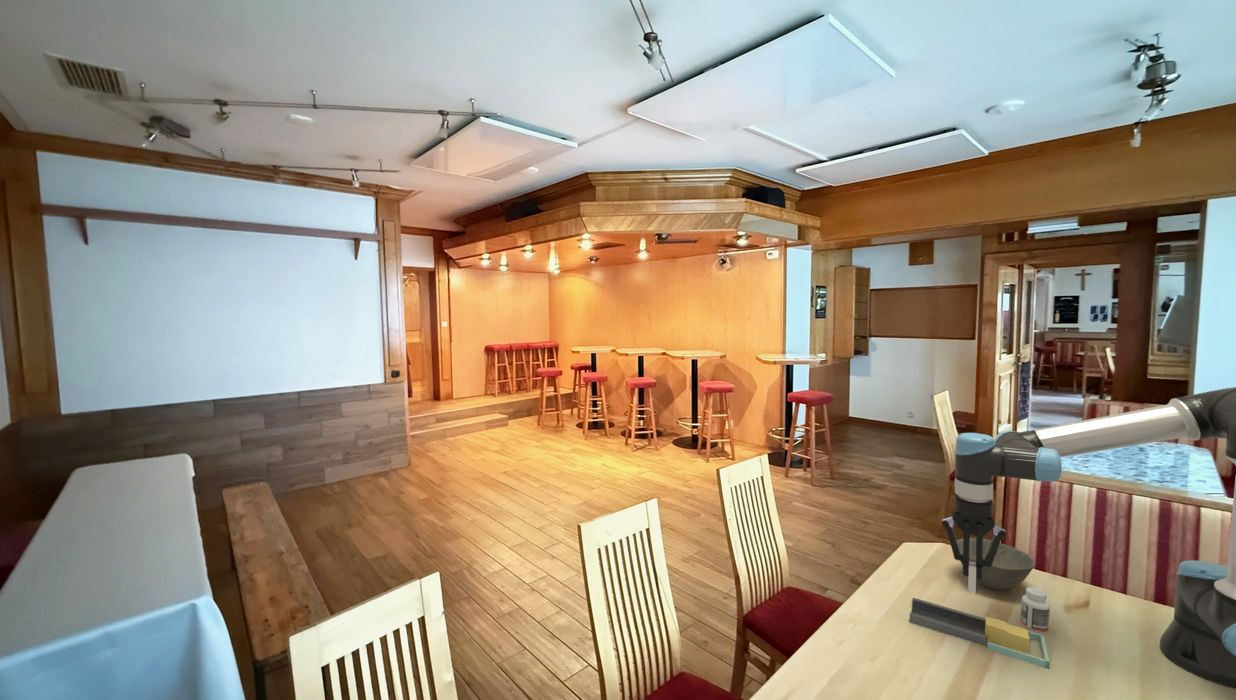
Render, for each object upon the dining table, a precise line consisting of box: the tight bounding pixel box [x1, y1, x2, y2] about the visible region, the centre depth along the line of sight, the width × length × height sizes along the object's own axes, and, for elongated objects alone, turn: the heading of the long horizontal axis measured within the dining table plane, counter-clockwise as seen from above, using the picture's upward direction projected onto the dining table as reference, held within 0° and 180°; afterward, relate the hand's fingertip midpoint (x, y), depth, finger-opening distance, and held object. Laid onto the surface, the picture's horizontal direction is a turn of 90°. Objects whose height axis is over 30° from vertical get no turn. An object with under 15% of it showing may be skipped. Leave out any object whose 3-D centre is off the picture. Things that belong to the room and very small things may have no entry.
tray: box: [986, 630, 1051, 670], centre depth 116 cm, size 11×11×2 cm
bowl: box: [956, 537, 1036, 591], centre depth 142 cm, size 19×19×10 cm
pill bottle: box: [1020, 586, 1051, 632], centre depth 123 cm, size 5×5×10 cm
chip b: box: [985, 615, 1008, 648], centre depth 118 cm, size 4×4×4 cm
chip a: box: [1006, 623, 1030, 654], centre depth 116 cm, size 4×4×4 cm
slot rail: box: [908, 597, 989, 647], centre depth 124 cm, size 16×9×3 cm, turn 54°
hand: (972, 589), depth 120 cm, fingers closed
